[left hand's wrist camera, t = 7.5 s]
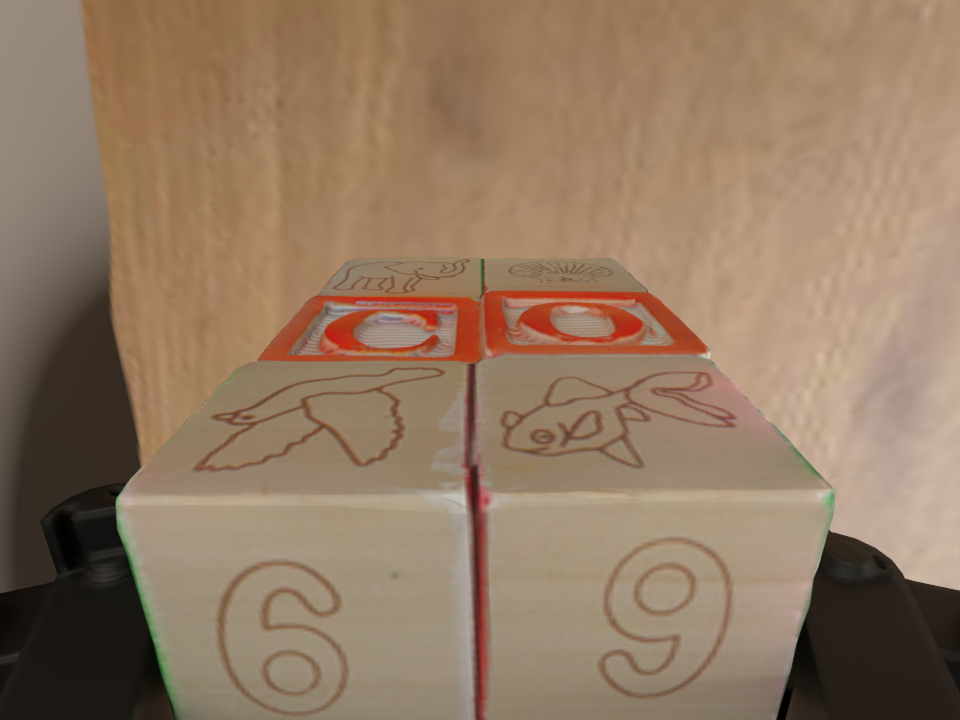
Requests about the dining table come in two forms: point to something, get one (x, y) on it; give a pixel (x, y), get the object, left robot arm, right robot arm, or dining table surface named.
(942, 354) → the dining table surface
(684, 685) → the stack of blocks
